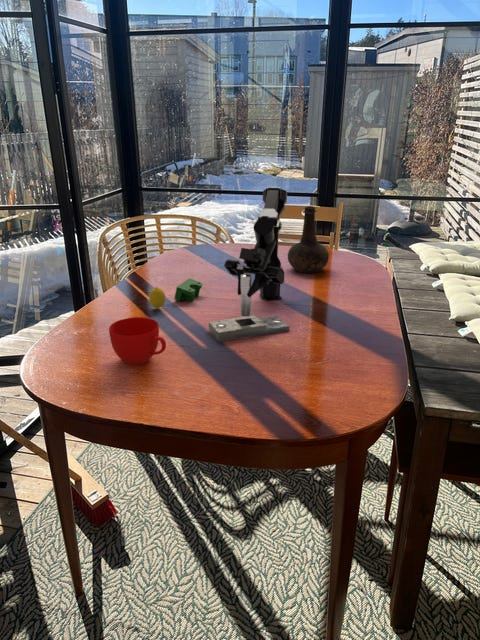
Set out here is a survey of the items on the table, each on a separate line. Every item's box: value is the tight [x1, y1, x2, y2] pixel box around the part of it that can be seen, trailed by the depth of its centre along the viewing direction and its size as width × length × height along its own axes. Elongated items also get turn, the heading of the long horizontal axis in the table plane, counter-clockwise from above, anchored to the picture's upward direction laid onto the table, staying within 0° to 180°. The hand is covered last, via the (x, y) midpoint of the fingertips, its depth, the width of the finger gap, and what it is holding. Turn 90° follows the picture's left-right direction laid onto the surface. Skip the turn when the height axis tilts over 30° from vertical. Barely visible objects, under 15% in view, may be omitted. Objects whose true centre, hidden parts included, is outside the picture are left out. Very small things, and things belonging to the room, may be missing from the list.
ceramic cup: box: [108, 316, 167, 366], centre depth 126 cm, size 13×17×10 cm
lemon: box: [148, 286, 166, 310], centre depth 163 cm, size 6×6×8 cm
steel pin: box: [240, 273, 252, 317], centre depth 143 cm, size 3×3×12 cm
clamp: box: [174, 278, 203, 302], centre depth 175 cm, size 12×6×9 cm, turn 156°
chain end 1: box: [208, 314, 266, 343], centre depth 146 cm, size 16×9×3 cm, turn 112°
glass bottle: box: [287, 205, 330, 274], centre depth 206 cm, size 18×18×28 cm
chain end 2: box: [235, 315, 290, 340], centre depth 148 cm, size 18×9×2 cm, turn 112°
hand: (243, 295), depth 142 cm, fingers closed on steel pin, 3 cm apart
